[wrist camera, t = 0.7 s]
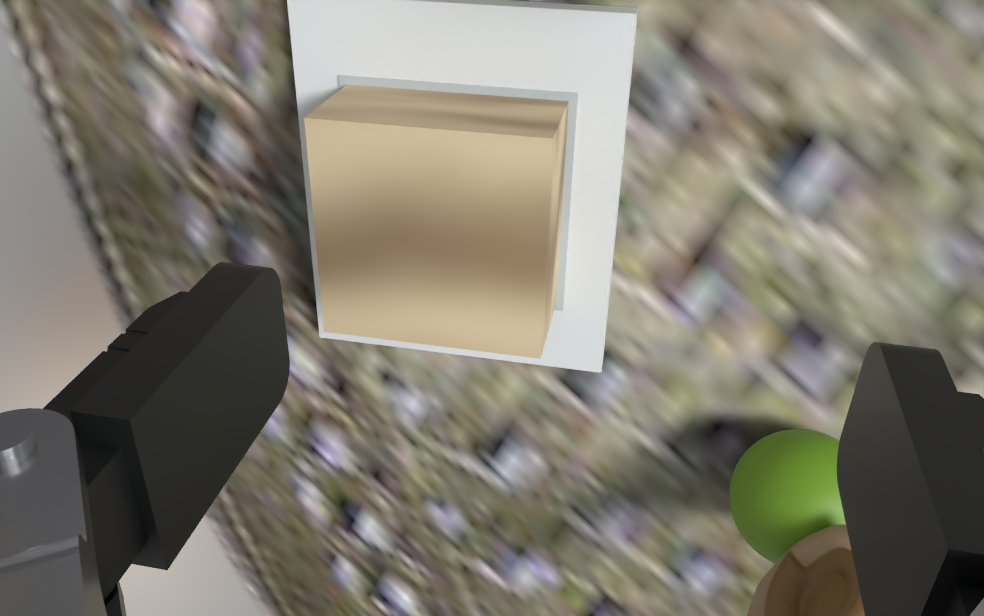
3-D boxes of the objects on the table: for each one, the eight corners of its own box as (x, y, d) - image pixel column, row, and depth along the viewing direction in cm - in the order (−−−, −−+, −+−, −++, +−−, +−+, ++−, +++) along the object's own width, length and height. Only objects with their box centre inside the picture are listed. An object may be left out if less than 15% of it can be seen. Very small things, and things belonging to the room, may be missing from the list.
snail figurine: (683, 465, 38) (681, 708, 27) (797, 378, 34) (842, 617, 24) (773, 535, 38) (803, 796, 28) (892, 457, 35) (975, 719, 25)
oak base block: (346, 84, 31) (303, 117, 27) (568, 101, 30) (552, 138, 26) (359, 281, 35) (323, 331, 31) (555, 303, 34) (540, 358, 30)
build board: (297, -12, 31) (285, -7, 30) (638, 7, 29) (636, 13, 28) (327, 325, 38) (319, 338, 37) (603, 359, 36) (600, 373, 35)
